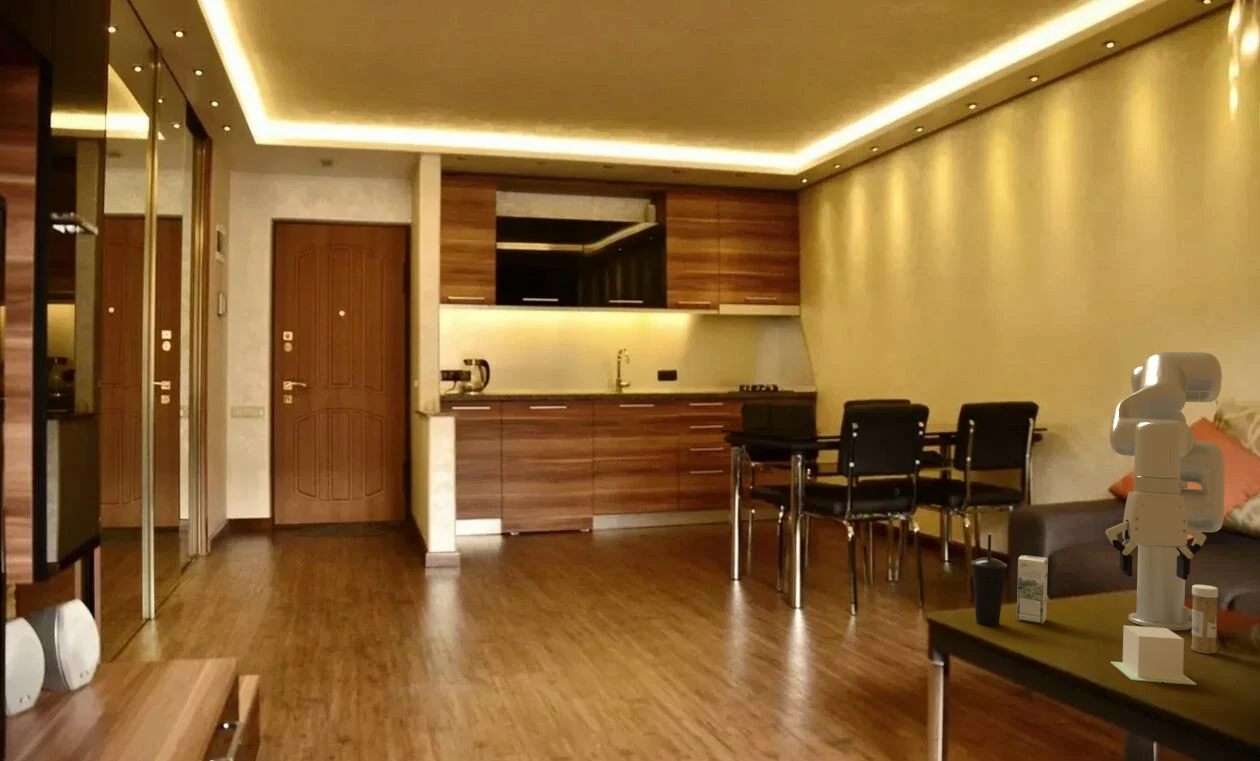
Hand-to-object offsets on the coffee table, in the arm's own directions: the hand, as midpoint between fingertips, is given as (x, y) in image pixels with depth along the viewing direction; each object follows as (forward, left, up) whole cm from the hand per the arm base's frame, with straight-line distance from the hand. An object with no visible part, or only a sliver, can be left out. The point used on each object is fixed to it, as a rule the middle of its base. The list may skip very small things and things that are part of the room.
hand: (1154, 576), depth 173 cm
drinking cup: (+23, -31, -18) cm, 43 cm away
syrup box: (+12, -37, -18) cm, 43 cm away
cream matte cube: (0, 0, -18) cm, 18 cm away
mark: (0, 0, -18) cm, 18 cm away
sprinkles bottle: (-17, -19, -18) cm, 32 cm away
